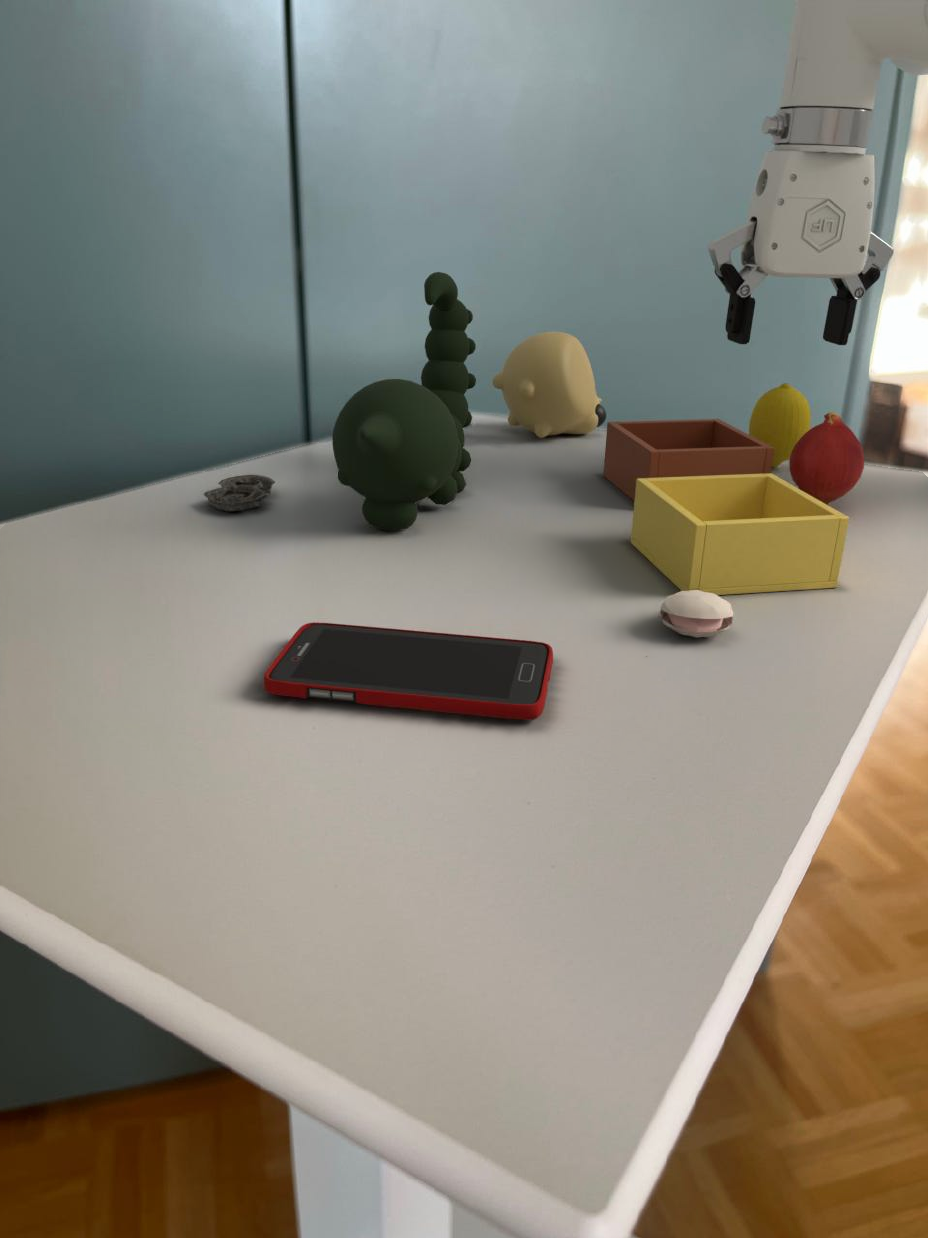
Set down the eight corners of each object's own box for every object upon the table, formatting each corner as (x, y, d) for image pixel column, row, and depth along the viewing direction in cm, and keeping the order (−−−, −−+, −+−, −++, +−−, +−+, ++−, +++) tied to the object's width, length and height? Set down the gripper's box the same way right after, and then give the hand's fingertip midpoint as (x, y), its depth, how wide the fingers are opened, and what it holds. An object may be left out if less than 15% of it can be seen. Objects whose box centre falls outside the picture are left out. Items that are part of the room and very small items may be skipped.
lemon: (732, 462, 98) (743, 379, 94) (779, 457, 99) (792, 376, 96) (767, 477, 93) (779, 390, 90) (815, 472, 95) (830, 387, 91)
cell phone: (541, 725, 50) (542, 708, 49) (258, 696, 52) (257, 680, 51) (554, 658, 57) (555, 642, 56) (304, 635, 59) (303, 620, 58)
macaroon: (659, 641, 59) (663, 602, 58) (656, 608, 64) (660, 572, 63) (733, 647, 59) (739, 608, 58) (725, 613, 63) (730, 576, 62)
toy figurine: (399, 482, 95) (299, 545, 72) (403, 270, 89) (295, 264, 65) (497, 490, 93) (426, 558, 70) (508, 274, 87) (434, 270, 64)
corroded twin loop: (283, 486, 86) (282, 475, 86) (258, 515, 79) (257, 502, 79) (226, 484, 87) (225, 472, 86) (196, 512, 79) (195, 500, 79)
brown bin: (712, 471, 94) (718, 418, 92) (766, 505, 85) (774, 447, 83) (603, 475, 92) (607, 421, 90) (645, 511, 83) (651, 451, 81)
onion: (808, 491, 89) (823, 401, 85) (868, 507, 85) (886, 413, 81) (770, 503, 85) (784, 409, 82) (831, 520, 81) (848, 422, 78)
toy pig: (574, 476, 105) (642, 402, 105) (515, 398, 97) (588, 318, 98) (523, 451, 112) (586, 383, 113) (465, 377, 105) (532, 303, 105)
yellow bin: (762, 535, 77) (771, 472, 75) (836, 587, 68) (849, 517, 66) (630, 542, 75) (636, 478, 73) (687, 597, 66) (696, 524, 64)
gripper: (747, 128, 79) (716, 348, 86) (939, 138, 83) (894, 350, 90) (707, 130, 86) (681, 335, 93) (887, 140, 90) (849, 336, 97)
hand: (786, 342), depth 91 cm, fingers open, 9 cm apart
